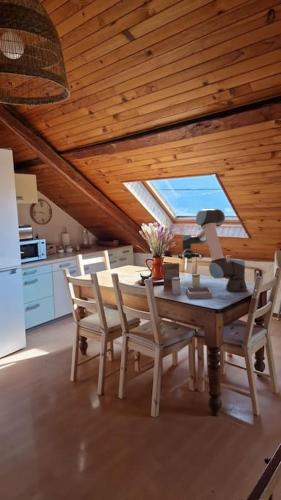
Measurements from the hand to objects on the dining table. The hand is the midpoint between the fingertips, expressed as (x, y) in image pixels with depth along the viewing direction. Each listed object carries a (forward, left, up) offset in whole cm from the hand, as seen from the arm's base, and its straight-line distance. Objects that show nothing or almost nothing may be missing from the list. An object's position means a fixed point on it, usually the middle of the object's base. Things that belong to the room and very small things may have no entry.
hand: (192, 257), depth 270 cm
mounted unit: (+12, +13, -23) cm, 29 cm away
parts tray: (-13, +20, -23) cm, 33 cm away
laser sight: (+34, +11, -24) cm, 43 cm away
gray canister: (+3, +25, -23) cm, 34 cm away
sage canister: (-6, +8, -23) cm, 25 cm away
